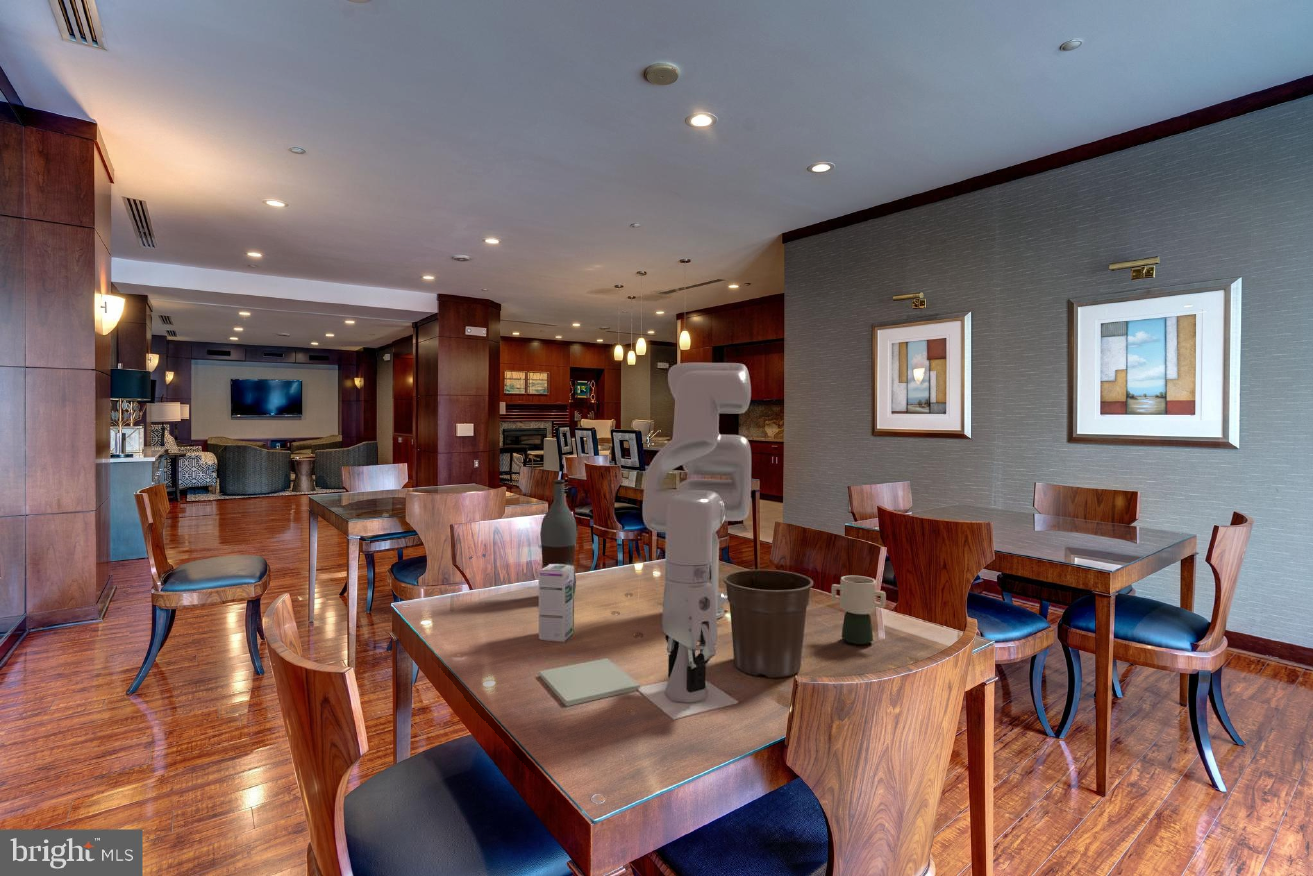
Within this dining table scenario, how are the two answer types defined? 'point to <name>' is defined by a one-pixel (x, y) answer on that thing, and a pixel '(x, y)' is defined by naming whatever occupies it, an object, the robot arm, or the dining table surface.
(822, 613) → the dining table surface
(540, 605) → the syrup box
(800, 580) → the plant pot
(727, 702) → the white flat square
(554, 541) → the bottle
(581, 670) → the coaster
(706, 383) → the robot arm
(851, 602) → the character mug
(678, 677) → the flask
